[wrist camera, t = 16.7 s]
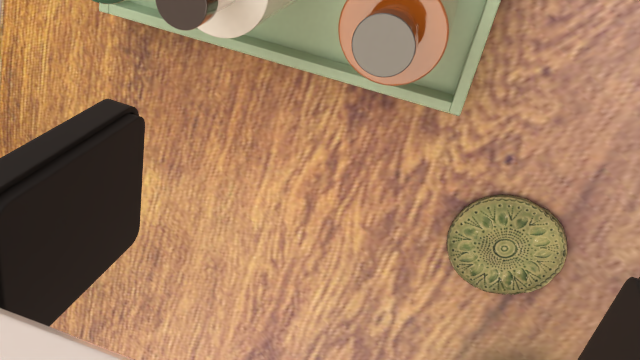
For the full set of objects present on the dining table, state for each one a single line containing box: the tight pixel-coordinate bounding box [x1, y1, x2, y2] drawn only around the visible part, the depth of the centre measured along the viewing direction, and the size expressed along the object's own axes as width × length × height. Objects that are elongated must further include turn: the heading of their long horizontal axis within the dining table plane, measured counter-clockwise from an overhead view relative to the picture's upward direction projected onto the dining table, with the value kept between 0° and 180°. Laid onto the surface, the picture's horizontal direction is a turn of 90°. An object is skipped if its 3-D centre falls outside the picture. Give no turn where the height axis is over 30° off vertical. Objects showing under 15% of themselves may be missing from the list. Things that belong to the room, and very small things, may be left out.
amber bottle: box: [338, 0, 459, 86], centre depth 30 cm, size 5×5×11 cm
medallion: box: [447, 195, 567, 295], centre depth 41 cm, size 8×8×1 cm
